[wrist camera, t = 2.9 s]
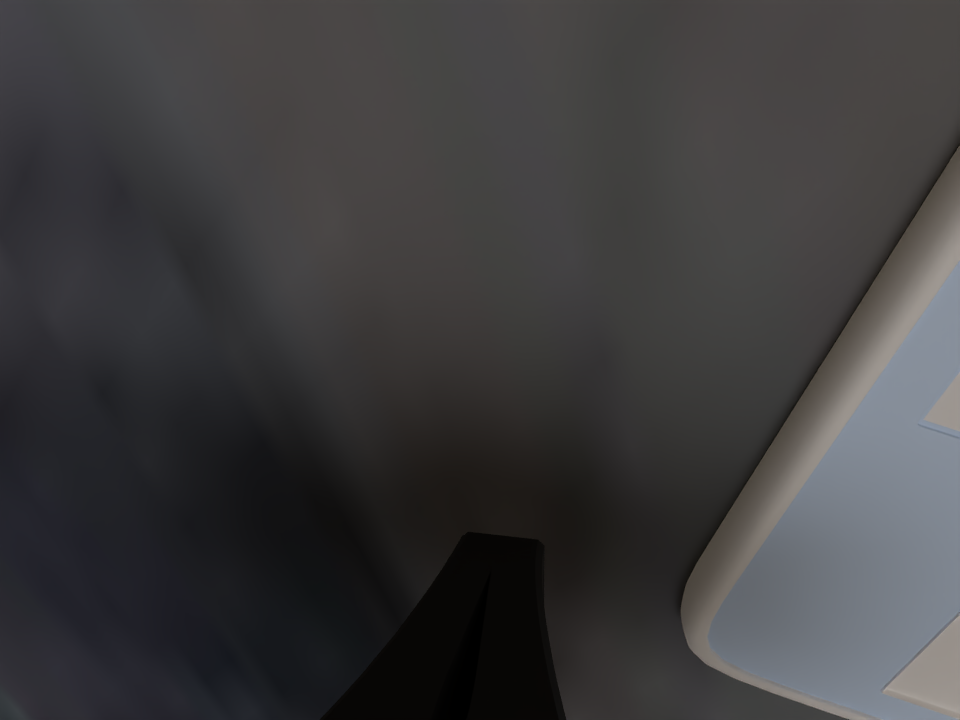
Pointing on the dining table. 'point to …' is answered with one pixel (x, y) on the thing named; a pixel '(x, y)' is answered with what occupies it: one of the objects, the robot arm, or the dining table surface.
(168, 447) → the dining table surface
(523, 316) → the dining table surface
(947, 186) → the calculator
